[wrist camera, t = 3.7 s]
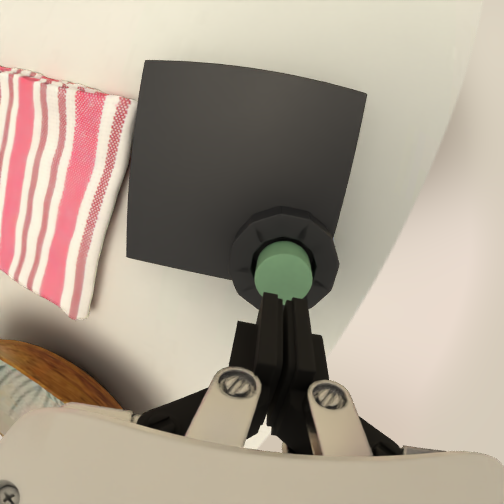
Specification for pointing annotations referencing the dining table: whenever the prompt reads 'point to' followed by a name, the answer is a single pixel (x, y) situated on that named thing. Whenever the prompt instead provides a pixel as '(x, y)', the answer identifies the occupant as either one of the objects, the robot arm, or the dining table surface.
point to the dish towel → (59, 182)
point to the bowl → (42, 382)
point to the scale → (239, 169)
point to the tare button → (283, 271)
